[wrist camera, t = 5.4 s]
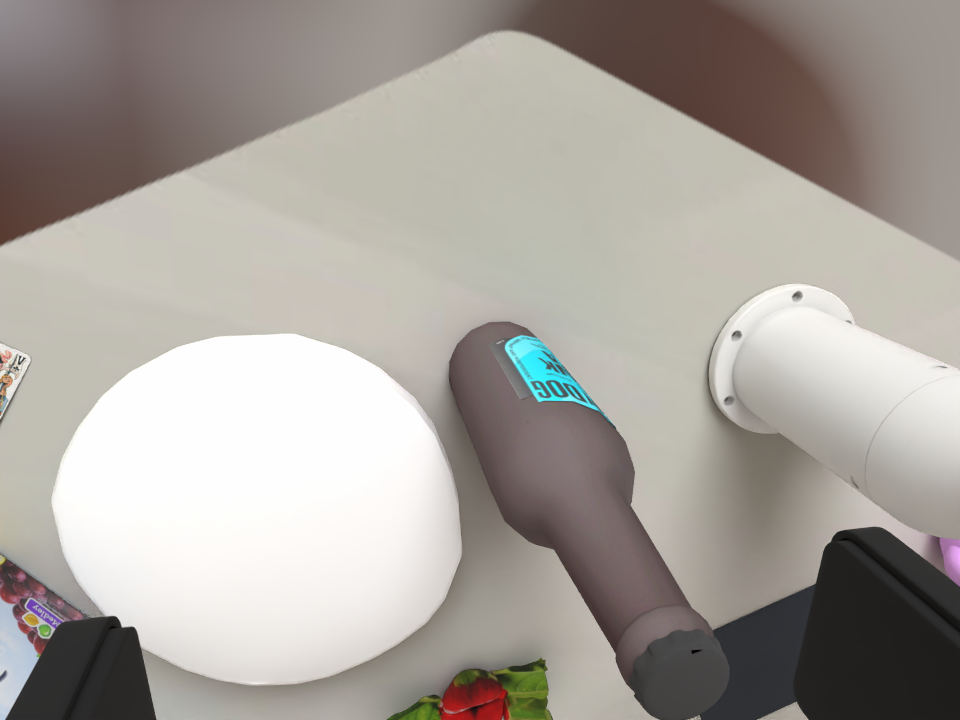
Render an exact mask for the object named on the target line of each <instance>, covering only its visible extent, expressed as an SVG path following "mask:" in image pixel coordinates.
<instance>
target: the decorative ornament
mask: <svg viewBox="0 0 960 720" xmlns="http://www.w3.org/2000/svg"><path fill="white" fill-rule="evenodd" d="M546 670H547V667H546V665H545V660H542V658H540V659H539V660H538V661H536V662H532V663H530V664H527V665H524V666H512V667H509V668H507V669H503V670H497V671H491V673H489V672H487V671H485V670H480V669H468V670H464V671H461V672H460V673H459V674H458V675H457V676H456V677H455V678H454V680H453V681H452V683H451V684H450V686H449V688H448V689H447V691H446V692H445V694H444V697H443V700H442V699H441V698H440V697H439V696H437V695H431V696H425V697H423V698H421V699H420V700H419V701H418V702H417V703H416V704H414V705H413V706H411V707H410V708H408V709H406V710H405V711H403V712H401V713H397V714H395V715H393V716H391V717H390V718H389V719H387V720H501V719H502V716H503V717H504V720H553V718H552V716H551V713H550V711H549V710H548V709H546V707H547V703H548V700H547V695H548V684H547V680H546V676H545V671H546Z"/></svg>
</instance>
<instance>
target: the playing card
mask: <svg viewBox="0 0 960 720" xmlns="http://www.w3.org/2000/svg"><path fill="white" fill-rule="evenodd" d="M30 362H31V358H30V356H29V355H27V354H25V353H23V352H20V351H18V350H16V349H13V348H11V347H8V346H6V345H4V344H1V343H0V419H1V417H2V415H3V413H4V411H5V409H6V407H7V405H8V403H9V402H10V400H11V398H12V396H13V394H14V392H15V390H16V388H17V386H18V384H19V383H20V381H21V379H22V377H23V375H24V373H25V371H26V369H27V367H28V365H29V363H30Z"/></svg>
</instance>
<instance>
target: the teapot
mask: <svg viewBox="0 0 960 720" xmlns="http://www.w3.org/2000/svg"><path fill="white" fill-rule="evenodd" d="M939 538H940V546H941V551H942V555H943V557H944V566H945V570H946V572H947V574H948V575H949V577H950V578H951V579H952V580H953V581H954V582H955V583H956V584H957V585H958V586H960V540H957V539H949V538H941V537H939Z"/></svg>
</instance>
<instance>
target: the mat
mask: <svg viewBox="0 0 960 720" xmlns="http://www.w3.org/2000/svg"><path fill="white" fill-rule="evenodd" d="M815 586H816V584H815V585H813V586H811V587H809V588H807V589H804V590H802V591H800V592H798V593H796V594H793V595H791V596H789V597H787V598H784V599H782V600H780V601H778V602H776V603H773V604H771V605H769V606H767V607H765V608H762V609H760V610H758V611H756V612H753V613H751V614H749V615H747V616H745V617H742V618H740V619H738V620H736V621H734V622H731V623H729V624H727V625H725V626H722V627H720V628H718V629H716V630H714V631H713V635H714V637H715V638H716V639H717V640H718V641H719V643H720V646H721V649H722V651H723V653H724V654H725V656H726V658H727V661H728V664H729V680H728V684H727V687H726V689H725V691H724V692H723V694H722V696H721V697H720V698H719V699H718V701H717V702H716V703H715V704H714V705H713V706H711V707H710V708H709V709H708V710H706V711H705V712H703V713H701V714H700V716H701V719H702V720H757V719H759V718H761V717H763V716H766V715H768V714H770V713H772V712H774V711H777V710H779V709H781V708H783V707H785V706H787V705H790V704H792V703H794V702H796V698H795V695H794V690H793V680H794V676H795V671H796V667H797V663H798V659H799V654H800V650H801V646H802V641H803V637H804V633H805V629H806V624H807V620H808V616H809V612H810V607H811V603H812V599H813V594H814V590H815Z"/></svg>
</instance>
